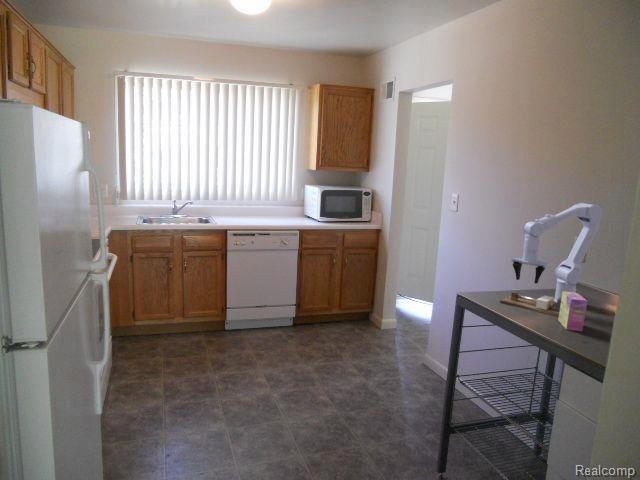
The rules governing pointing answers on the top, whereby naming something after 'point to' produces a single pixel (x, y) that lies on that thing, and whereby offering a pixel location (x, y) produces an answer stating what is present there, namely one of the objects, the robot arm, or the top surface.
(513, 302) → the guide board
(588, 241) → the robot arm
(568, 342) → the top surface
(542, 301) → the sleeve
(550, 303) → the stop band
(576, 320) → the box
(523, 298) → the guide rod
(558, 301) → the end block
